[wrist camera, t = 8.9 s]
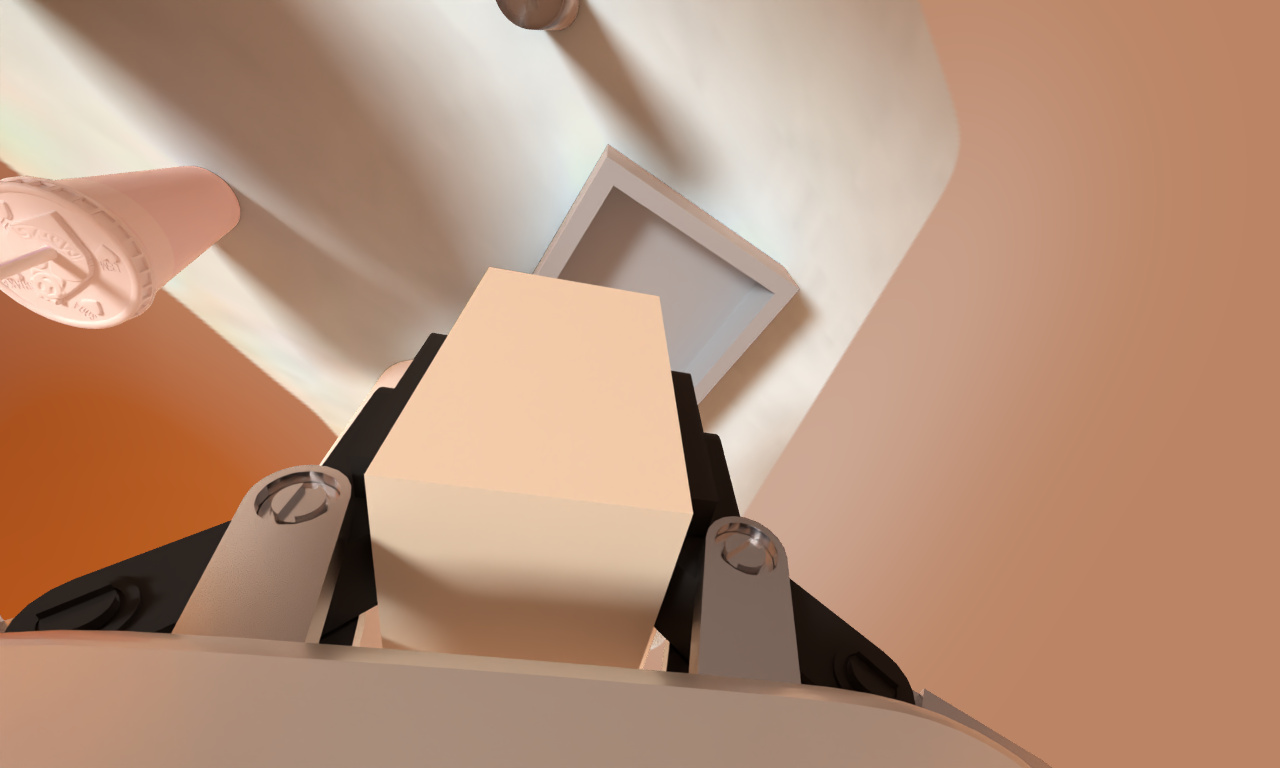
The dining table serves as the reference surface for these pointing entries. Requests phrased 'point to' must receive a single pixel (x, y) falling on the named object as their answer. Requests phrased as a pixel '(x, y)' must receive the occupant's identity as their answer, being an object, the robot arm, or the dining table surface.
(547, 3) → the post
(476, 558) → the beige stepped block
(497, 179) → the dining table surface
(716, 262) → the tray
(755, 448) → the dining table surface
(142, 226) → the smoothie
